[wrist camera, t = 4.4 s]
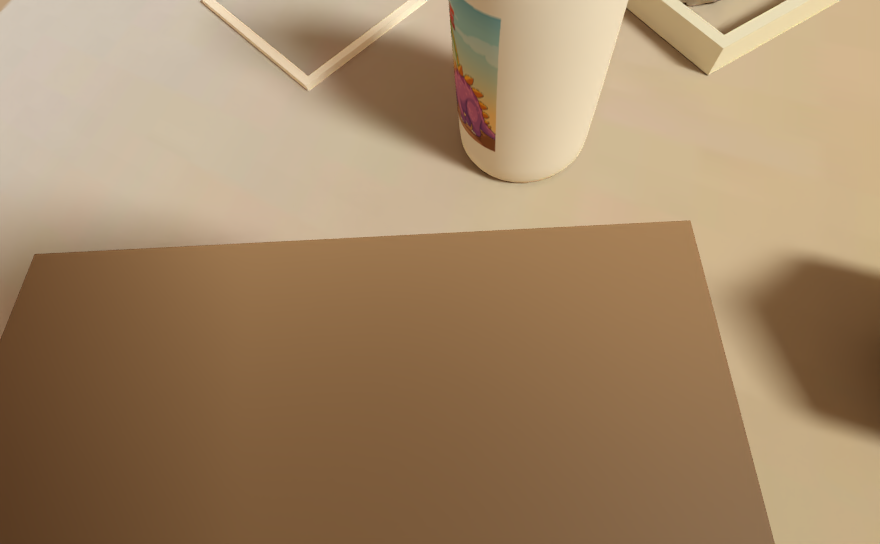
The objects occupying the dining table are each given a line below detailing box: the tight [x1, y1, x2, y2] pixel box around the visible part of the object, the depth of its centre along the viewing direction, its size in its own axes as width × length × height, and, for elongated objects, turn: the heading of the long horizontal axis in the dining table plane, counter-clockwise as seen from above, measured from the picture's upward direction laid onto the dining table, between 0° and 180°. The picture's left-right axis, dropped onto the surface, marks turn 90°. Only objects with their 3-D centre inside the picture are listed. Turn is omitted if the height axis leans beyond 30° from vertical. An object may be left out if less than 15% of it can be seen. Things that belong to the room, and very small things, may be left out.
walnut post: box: [0, 221, 775, 544], centre depth 8 cm, size 5×5×13 cm
